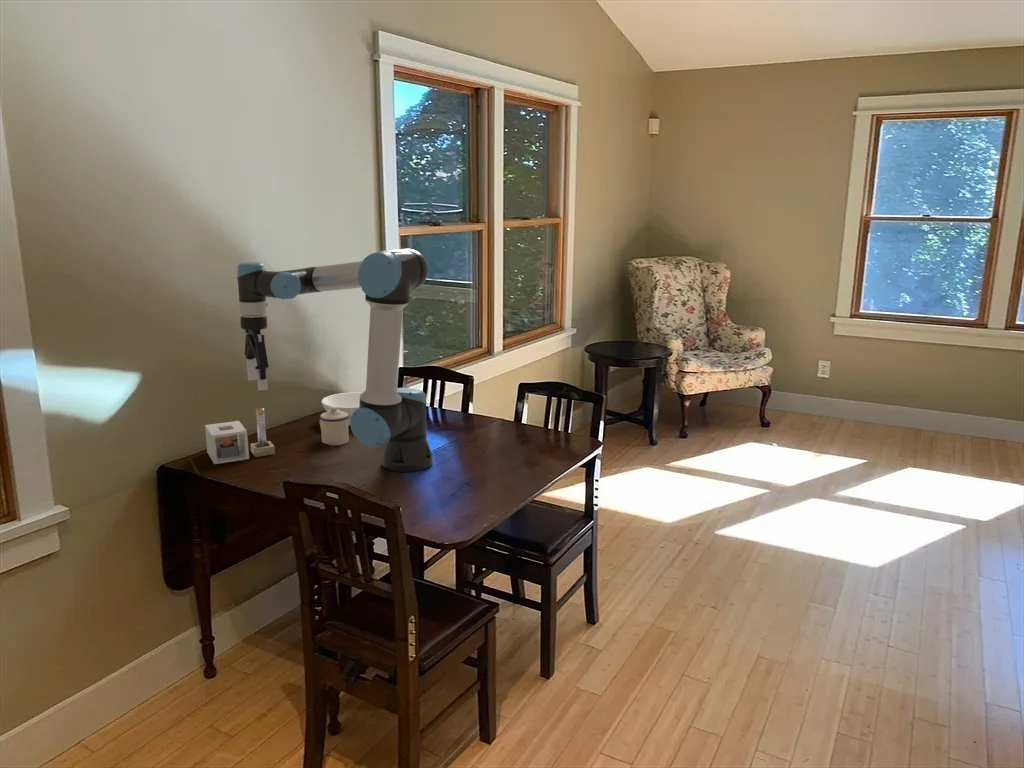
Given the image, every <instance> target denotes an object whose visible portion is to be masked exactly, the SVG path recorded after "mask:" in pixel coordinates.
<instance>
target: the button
mask: <svg viewBox="0 0 1024 768" xmlns="http://www.w3.org/2000/svg"><path fill="white" fill-rule="evenodd" d="M232 437H233V435H232V436H225V437H220V439H221V443H222V447H230V446H232V441H233V438H232Z"/></svg>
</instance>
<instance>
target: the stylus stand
mask: <svg viewBox="0 0 1024 768" xmlns="http://www.w3.org/2000/svg"><path fill="white" fill-rule="evenodd" d="M266 445H267V446H266V447H260V448H259V447H258V442H254V443H250V452H251V454H252V455H253V456H254V457H255V458H257V457H263V456H271V455H275V454H276V447H275V445H274V444H273V442H271V440H266Z"/></svg>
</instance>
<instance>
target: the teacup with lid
mask: <svg viewBox="0 0 1024 768" xmlns="http://www.w3.org/2000/svg"><path fill="white" fill-rule="evenodd" d="M348 417H349V416H348V414H347V413H346V412H343V411H340V410H337V407H331V410H329V411H325V412H323V413H321V414H320V416H319V426H320V431H321V442H322V443H323V444H327V445H328V446H334V447H335V446H342V445H345V444H347V443H349V441H350V433H349V425H348Z"/></svg>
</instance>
